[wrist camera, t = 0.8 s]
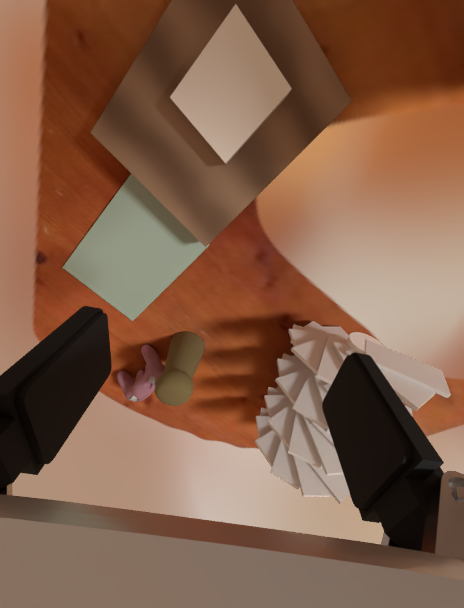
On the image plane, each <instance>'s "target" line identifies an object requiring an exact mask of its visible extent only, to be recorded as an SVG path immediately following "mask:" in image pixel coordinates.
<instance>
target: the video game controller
mask: <svg viewBox="0 0 464 608" xmlns="http://www.w3.org/2000/svg"><path fill="white" fill-rule="evenodd" d="M141 351H142V355H143V357H144V359H145V361H146V366H145V370H139V371H138V373H137V375H136V380H135V381H134V380H133V379H132V377H131V376H130V375H129V374H128V373H127V372H125V371H119V372H118V374H117V380H118V382H119V384H120V386H121V388H122V390H123V392H124V394H125V397H126V398H127V399H128V400H131V401H135V402H140V401H142V400H144V399H145V398H147V397H148V396H149V395H150V394H151V393H152V392H153V391H154V389H155V384H156V382H157V379H158V377H159V376H160V375H161V374H162V373H163V372H164V369H165V366H164V365H163V364H162V362H161V360H160V358H159V356H158V354H157V353H156V351H155V350H154V349H153V348H152V347H151V346H150V345H148V344H145V345H143V346H142V348H141Z"/></svg>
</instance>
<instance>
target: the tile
mask: <svg viewBox="0 0 464 608" xmlns="http://www.w3.org/2000/svg"><path fill="white" fill-rule="evenodd" d="M291 89H292V88H291V87H290V85H289V84H288V82H287V81H286V79H285V78H284V76H283V75H282V73H281V72H280V70H279V69H278V67H277V65H276V64H275V62H274V61H273V59H272V58H271V56H270V55H269V53H268V52H267V50H266V49H265V47H264V46H263V44H262V43H261V41H260V40H259V38H258V37H257V35H256V34H255V32H254V31H253V29H252V28H251V26H250V25H249V23H248V22H247V20H246V18H245V17H244V15H243V14H242V12H241V11H240V9H239V8H238V6H237V5H236V4H235V5H234V7H233V8H232V10H231V11H230V13H229V14H228V15H227V17H226V18H225V20H224V21H223V22H222V24H221V25H220V27H219V28H218V30H217V31H216V32H215V34H214V35H213V37H212V38H211V39H210V41H209V42H208V44H207V45H206V47H205V48H204V49H203V51H202V52H201V54H200V55H199V57H198V58H197V59H196V61H195V62H194V64H193V65H192V66H191V68H190V69H189V71H188V72H187V74H186V75H185V76H184V78H183V79H182V81H181V82H180V83H179V85H178V86H177V88H176V89H175V91H174V92H173V93H172V95H171V96H170V98H171V99H172V100H173V102H174V103H175V104H176V105H177V106H178V108H179V109H180V110H181V111H182V112H183V114H184V115H185V116H186V117H187V118H188V119H189V121H190V122H191V123H192V124H193V125H194V127H195V128H196V129H197V130H198V131H199V133H200V134H201V135H202V136H203V137H204V138H205V140H206V141H207V142H208V143H209V144H210V146H211V147H212V148H213V149H214V150H215V152H216V153H217V154H218V155H219V156H220V157H221V159H222V160H223V161H224V162H225V163H226V164H227V163H228V162H229V161H230V160H231V159H232V157H233V156H234V155H235V154H236V153H237V152H238V151H239V150H240V148H241V147H242V146H243V145H244V144H245V143H246V142H247V141H248V140H249V138H250V137H251V136H252V135H253V134H254V133H255V132H256V131H257V129H258V128H259V127H260V126H261V125H262V124H263V123H264V122H265V120H266V119H267V118H268V117H269V116H270V115H271V114H272V113H273V112H274V110H275V109H276V108H277V107H278V106H279V105H280V104H281V103H282V101H283V100H284V99H285V98H286V97H287V96H288V94H289V93H290V91H291Z"/></svg>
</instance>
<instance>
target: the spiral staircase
mask: <svg viewBox="0 0 464 608" xmlns="http://www.w3.org/2000/svg"><path fill="white" fill-rule="evenodd" d="M288 332H289V335H290V338H291V343H292V344H293V346H294V347H292V349H291V351H292V352H293V353H294V354H295V355H293V356H290V355H287V354H285V353H284V354H283V356H282V359H279V358H278V359H277V365H278V372H279V378H276V380H275V381H276V383H277V384H278V385H279V386H278V387H277V388H276V389H275V388H272V387H268V394H267V395H265V396H264V399H265V403H266V406H267V407H266V409H265V408H262V407H261V411H260V416H256V423H257V430H258V436H259V439H257V440H256V441H255V443H256V445H257V446H258V448H259V449H260V451H261V452H262V453H263V455H264V456H265V458H266V459H267V461H268V462H269V464H270V465H271V467H272V469H271V473H272V474H274V475H275V476H277V477H279V478H280V479H282V480H283V481H285V482H287V483H288V484H290V485H292V486H293V487H295V488H296V489H299V487H300V488H301V492H302V496H303V497H332V496H333V497H334V498H335V499H336V500H337V502H338V503H339V504H340V503H341V502H342V501H343V500H344V499H345V497H346V496H347V495H348V494H349V493H350V492H349V489H348V486H347V483H346V480H345V477H344V474H343V471H342V468H341V465H340V462H339V458H338V455H337V452H336V449H335V446H334V443H333V440H332V437H331V434H330V431H329V428H328V425H327V422H326V419H325V416H324V413H323V409H322V403H323V400H324V398H325V396H326V394H327V392H328V390H329V388H330V386H331V384H332V383H333V381H334V379H335V377H336V375H337V373H338V371H339V369H340V367H341V365H342V364H343V362H344V360H345V358H346V356H348V355H351V354H352V353H354V352H355V353H361V354H367V355H370V356H371V357H372V358H373V360H374V361H375V363H376V364H377V366H378V367H379V369H380V370H381V372H382V373H383V375H384V376H385V377H386V379H387V380H388V382H389V383H390V385H391V386H392V388H393V389H394V391H395V392H396V394H397V395H398V396H399V398H400V399H401V401H402V402H403V403H406V404H407V405H408V406H409V407H411V408H412V409H413V410H414V411H417V410H418V409H419V408H420V407H421V406H422V405H424V404H425V403H426V402H427V401H428V400H429V399H430V398H432V397H433V396H434V395H435V394H436V393H437V394H440V395H442V396H444V397H446V398H448V397H449V396H450V395H451V394H450V391H449V389H448V386H447V383H446V380H445V378H444V375H443V372H442V370H440V369H438V368H435V367H432V366H430V365H428V364H425V363H423V362H420V361H418V360H415V359H413V358H410V357H408V356H405V355H403V354H400V353H398V352H396V351H393V350H391V349H388V348H386V347H383V346H382V344H381V343H380V342H379V341H377V340H376V339H374V338H373V337H371V336H369V335H367V334H364V333H359V332H353V333H351V334H350V335H348V334H347V333H346V332H345V331H344V330H343V329H342V328H341V327H323V326H321V325H319V324H318V323H316V322H314V321H313V322H311V323H309V324H307V325H306V326H304V327H301V326H298V325H295V324H294V325H293V329H289V331H288ZM405 407H406V408H407V410H408V411H409V413H410V414H411V415H412V409H411V408H409V407H407V406H405Z"/></svg>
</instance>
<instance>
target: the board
mask: <svg viewBox="0 0 464 608" xmlns="http://www.w3.org/2000/svg"><path fill="white" fill-rule="evenodd" d="M235 4H236V5H237V6H238V8H239V9H240V11H241V12H242V14H243V15H244V17H245V18H246V20H247V22H248V23H249V25H250V26H251V28H252V29H253V31H254V32H255V34H256V35H257V37H258V38H259V40H260V41H261V43H262V44H263V46H264V47H265V49H266V50H267V52H268V53H269V55H270V56H271V58H272V59H273V61H274V62H275V64H276V65H277V67H278V69H279V70H280V72H281V73H282V75H283V76H284V78H285V79H286V81H287V82H288V84H289V85H290V87H291V88H292V89H291V91H290V93H289V94H288V96H287V97H286V98H285V99H284V100H283V101H282V103H281V104H280V105H279V106H278V107H277V108H276V109H275V110H274V112H273V113H272V114H271V115H270V116H269V117H268V118H267V119H266V120H265V122H264V123H263V124H262V125H261V126H260V127H259V128H258V129H257V131H256V132H255V133H254V134H253V135H252V136H251V137H250V138H249V140H248V141H247V142H246V143H245V144H244V145H243V146H242V147H241V148H240V150H239V151H238V152H237V153H236V154H235V155H234V156H233V157H232V159H231V160H230V161H229V162H228V163H227V164H226V163H225V162H224V161H223V160H222V159H221V157H220V156H219V155H218V154H217V153H216V152H215V150H214V149H213V148H212V147H211V146H210V144H209V143H208V142H207V141H206V140H205V138H204V137H203V136H202V135H201V134H200V133H199V131H198V130H197V129H196V128H195V127H194V125H193V124H192V123H191V122H190V121H189V119H188V118H187V117H186V116H185V115H184V114H183V112H182V111H181V110H180V109H179V108H178V106H177V105H176V104H175V103H174V102H173V100H172V99H171V98H170V96H171V95H172V93H173V92H174V91H175V89H176V88H177V86H178V85H179V83H180V82H181V81H182V79H183V78H184V76H185V75H186V74H187V72H188V71H189V69H190V68H191V66H192V65H193V64H194V62H195V61H196V59H197V58H198V57H199V55H200V54H201V52H202V51H203V49H204V48H205V47H206V45H207V44H208V42H209V41H210V39H211V38H212V37H213V35H214V34H215V32H216V31H217V30H218V28H219V27H220V25H221V24H222V22H223V21H224V20H225V18H226V17H227V15H228V14H229V13H230V11H231V10H232V8H233V7H234V5H235ZM351 102H352V100H351V98H350V97H349V95H348V93H347V92H346V90H345V88H344V86H343V85H342V83H341V81H340V80H339V78H338V76H337V74H336V73H335V71H334V69H333V68H332V66H331V64H330V63H329V61H328V59H327V57H326V56H325V54H324V52H323V51H322V49H321V47H320V45H319V44H318V42H317V40H316V39H315V37H314V35H313V33H312V32H311V30H310V28H309V27H308V25H307V23H306V21H305V20H304V18H303V16H302V15H301V13H300V11H299V9H298V8H297V6H296V4H295V3H294V1H293V0H171V2H170V4H169V5H168V7H167V8H166V10H165V12H164V13H163V15H162V17H161V18H160V20H159V21H158V23H157V25H156V26H155V28H154V30H153V31H152V33H151V35H150V36H149V38H148V39H147V41H146V43H145V44H144V46H143V48H142V49H141V51H140V52H139V54H138V56H137V57H136V59H135V61H134V62H133V64H132V66H131V67H130V69H129V70H128V72H127V74H126V75H125V77H124V79H123V80H122V82H121V83H120V85H119V87H118V88H117V90H116V92H115V93H114V95H113V97H112V98H111V100H110V101H109V103H108V105H107V106H106V108H105V110H104V111H103V113H102V114H101V116H100V118H99V119H98V121H97V123H96V124H95V126H94V128H93V129H92V131H91V132H90V133H91V134H92V135H93V136H94V137H95V138H96V139H97V140H98V141H99V142H100V143H101V144H102V145H103V146H104V147H105V148H106V149H107V150H108V151H109V152H110V153H111V154H112V155H113V156H114V157H115V158H116V159H117V160H118V161H119V162H120V163H121V164H122V165H123V166H124V167H125V168H126V169H127V170H128V171H129V172H130V173H131V174H132V175H133V176H134V177H135V178H136V179H137V180H138V181H139V182H140V183H141V184H142V185H143V186H144V187H145V188H146V189H147V190H148V191H149V192H150V193H151V194H152V195H153V196H154V197H155V198H156V199H158V200H159V201H160V202H161V203H162V204H163V205H164V206H165V207H166V208H167V209H168V210H169V211H170V212H171V213H172V214H173V215H174V216H175V217H176V218H177V219H178V220H179V221H180V222H181V223H182V224H183V225H184V226H185V227H186V228H187V229H188V230H189V231H190V232H191V233H192V234H193V235H194V236H195V237H196V238H197V239H198V240H199V241H200V242H201V243H202V244H203V245H204V246H205V247H206V246H207V245H208V244H209V243H210V242H211V241H212V240H213V239H214V238H215V237H216V236H217V235H218V234H219V233H220V232H221V231H222V230H223V229H224V228H225V227H226V226H227V225H228V224H229V223H230V222H231V221H232V220H233V219H234V218H235V217H236V216H237V215H238V214H239V213H240V212H241V211H242V210H244V209H245V208H246V207H247V206H248V205H249V204H250V203H251V202H252V201H253V200H254V199H255V198H256V197H257V196H258V195H259V194H260V193H261V192H262V190H263V189H264V188H266V187H267V186H268V184H270V183H271V181H272V180H273V179H275V178H276V177H277V176H278V175H279V174H280V173H281V172H282V171H283V170H284V169H285V168H286V167H287V165H289V164H290V163H291V162H292V161H293V160H294V159H295V158H296V156H298V155H299V154H300V153H301V152H302V151H303V150H304V149H305V148H306V147H307V146H308V145H309V144H310V143H311V142H312V141H313V140H314V139H315V138H316V137H317V136H318V135H319V134H320V133H321V132H322V131H323V130H324V129H325V128H326V127H327V126H328V125H329V124H330V123H331V122H332V121H333V120H334V119H335V118H336V117H337V116H338V115H339V114H340V113H341V112H342V111H343V110H344V109H345V108H346V107H347V106H348V105H349V104H350V103H351Z"/></svg>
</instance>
